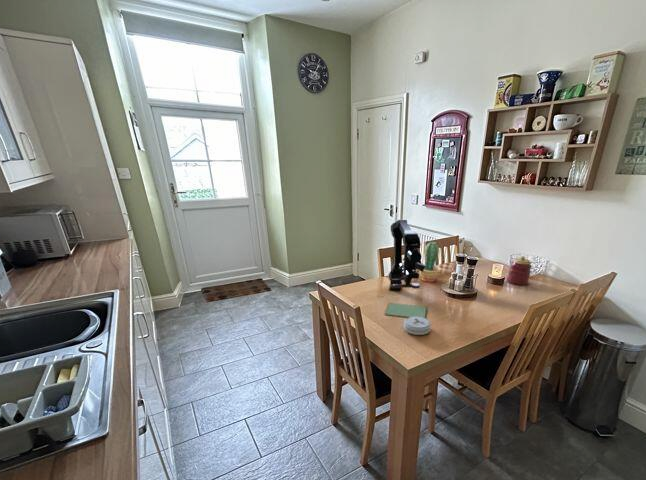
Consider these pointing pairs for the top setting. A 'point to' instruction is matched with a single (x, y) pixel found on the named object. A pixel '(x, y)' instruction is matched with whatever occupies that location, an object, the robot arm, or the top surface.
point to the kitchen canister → (519, 271)
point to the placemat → (406, 310)
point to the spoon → (413, 285)
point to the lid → (417, 325)
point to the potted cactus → (431, 263)
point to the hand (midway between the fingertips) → (407, 285)
